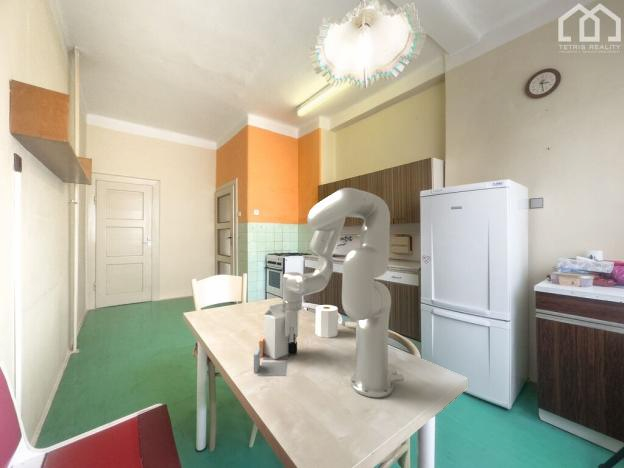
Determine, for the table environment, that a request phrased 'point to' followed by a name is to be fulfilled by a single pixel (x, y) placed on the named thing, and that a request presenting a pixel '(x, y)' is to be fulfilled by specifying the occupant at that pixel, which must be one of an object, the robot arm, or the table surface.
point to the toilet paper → (326, 321)
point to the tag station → (268, 363)
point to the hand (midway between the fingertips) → (292, 352)
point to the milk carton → (275, 332)
